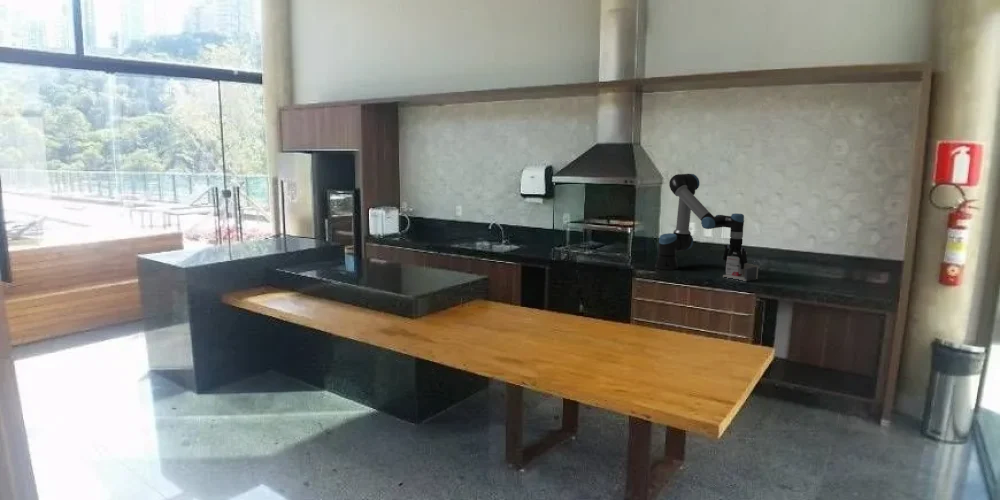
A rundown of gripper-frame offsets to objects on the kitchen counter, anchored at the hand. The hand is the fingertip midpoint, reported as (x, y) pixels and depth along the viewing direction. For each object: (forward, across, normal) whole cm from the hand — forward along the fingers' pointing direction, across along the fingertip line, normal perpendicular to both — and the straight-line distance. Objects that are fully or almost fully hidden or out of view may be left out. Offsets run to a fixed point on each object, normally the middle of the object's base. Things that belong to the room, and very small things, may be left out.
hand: (733, 272), depth 375 cm
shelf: (+3, +4, +1) cm, 5 cm away
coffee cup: (+3, -7, +16) cm, 18 cm away
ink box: (+2, 0, 0) cm, 2 cm away
